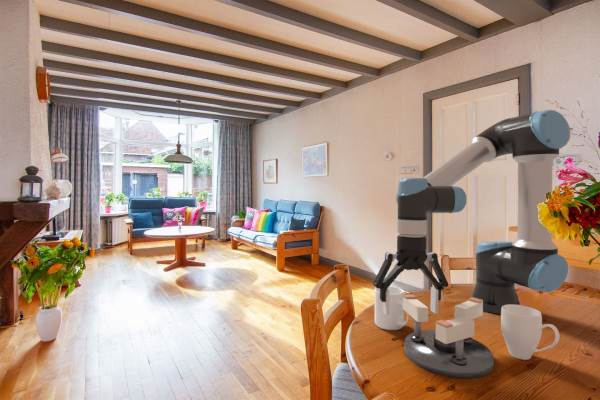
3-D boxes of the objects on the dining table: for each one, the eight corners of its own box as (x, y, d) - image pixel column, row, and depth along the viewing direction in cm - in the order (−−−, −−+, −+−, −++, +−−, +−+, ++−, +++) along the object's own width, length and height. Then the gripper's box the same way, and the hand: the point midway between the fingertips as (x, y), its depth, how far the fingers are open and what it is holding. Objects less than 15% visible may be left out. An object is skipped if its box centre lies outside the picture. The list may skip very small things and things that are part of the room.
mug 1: (396, 338, 90) (397, 299, 90) (368, 322, 101) (368, 288, 101) (418, 331, 94) (419, 295, 94) (389, 317, 105) (389, 284, 105)
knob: (463, 351, 76) (463, 314, 76) (473, 357, 74) (474, 318, 73) (435, 360, 72) (435, 320, 72) (445, 366, 70) (446, 325, 70)
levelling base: (461, 335, 92) (461, 316, 92) (514, 375, 72) (514, 351, 72) (392, 338, 90) (392, 319, 90) (427, 380, 70) (427, 355, 70)
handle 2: (465, 342, 81) (465, 307, 81) (454, 338, 83) (454, 303, 83) (482, 333, 86) (482, 300, 86) (471, 329, 89) (472, 297, 88)
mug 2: (493, 352, 82) (494, 308, 82) (510, 344, 86) (511, 302, 86) (550, 375, 72) (551, 324, 72) (565, 365, 76) (566, 317, 76)
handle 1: (428, 340, 82) (428, 305, 82) (417, 341, 82) (417, 306, 81) (412, 325, 91) (412, 294, 91) (402, 326, 91) (403, 294, 90)
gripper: (448, 233, 93) (446, 306, 93) (362, 233, 91) (361, 308, 91) (463, 236, 85) (461, 316, 86) (371, 237, 83) (369, 319, 84)
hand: (410, 312), depth 89 cm, fingers open, 13 cm apart
